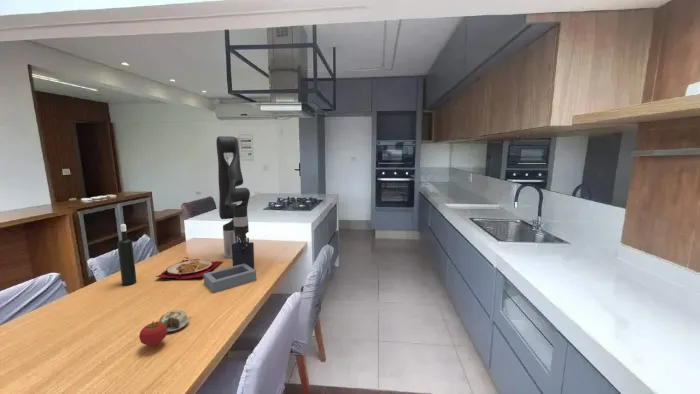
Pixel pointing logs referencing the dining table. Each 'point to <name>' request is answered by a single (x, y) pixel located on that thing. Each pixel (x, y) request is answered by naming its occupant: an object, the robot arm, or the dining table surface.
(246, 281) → the tray
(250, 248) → the dark bevelled slab
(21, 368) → the dining table surface
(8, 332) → the dining table surface
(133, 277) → the wine bottle
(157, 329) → the tomato
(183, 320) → the cake
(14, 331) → the dining table surface
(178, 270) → the plate with food
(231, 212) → the robot arm
